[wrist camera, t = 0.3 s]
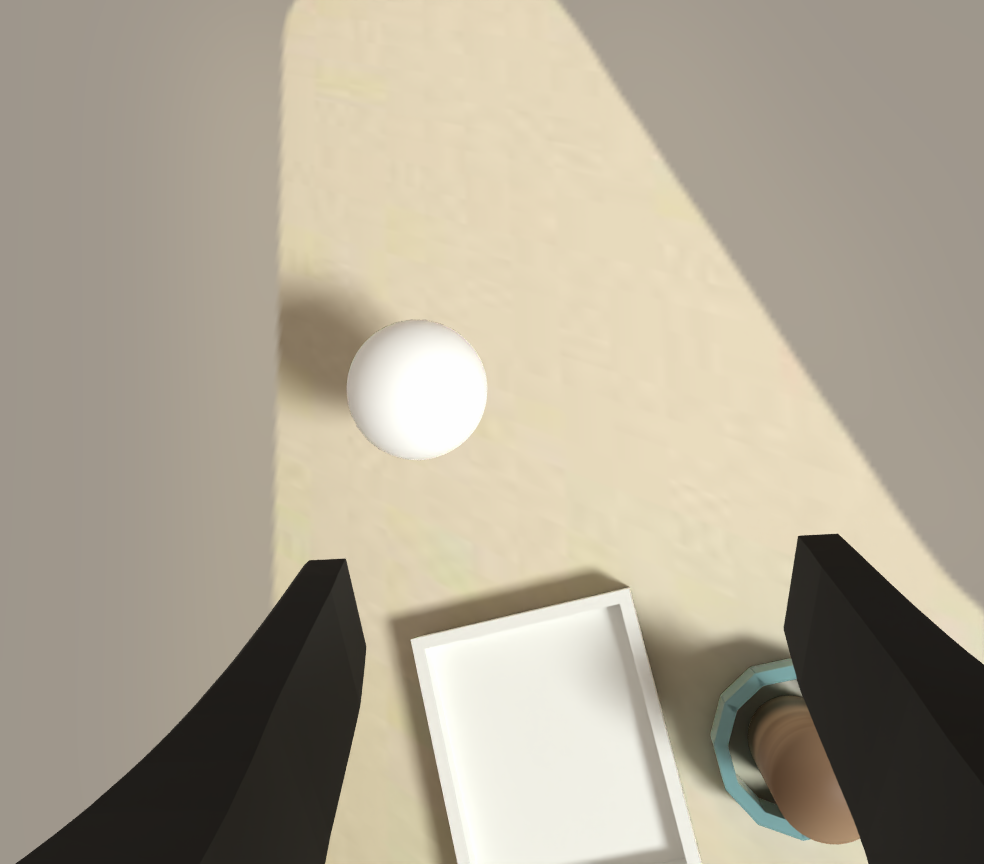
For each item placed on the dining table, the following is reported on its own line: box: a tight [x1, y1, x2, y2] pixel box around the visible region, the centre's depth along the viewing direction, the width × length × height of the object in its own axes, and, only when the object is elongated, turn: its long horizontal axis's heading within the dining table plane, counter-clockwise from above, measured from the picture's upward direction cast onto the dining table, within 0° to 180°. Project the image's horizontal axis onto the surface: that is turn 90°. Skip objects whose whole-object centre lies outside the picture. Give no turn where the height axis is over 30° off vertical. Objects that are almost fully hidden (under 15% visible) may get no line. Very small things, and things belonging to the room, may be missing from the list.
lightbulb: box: [347, 320, 487, 460], centre depth 38 cm, size 6×6×11 cm
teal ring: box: [710, 658, 810, 841], centre depth 37 cm, size 7×7×2 cm
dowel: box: [748, 696, 860, 844], centre depth 35 cm, size 4×4×8 cm
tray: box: [411, 587, 702, 864], centre depth 40 cm, size 13×11×2 cm
